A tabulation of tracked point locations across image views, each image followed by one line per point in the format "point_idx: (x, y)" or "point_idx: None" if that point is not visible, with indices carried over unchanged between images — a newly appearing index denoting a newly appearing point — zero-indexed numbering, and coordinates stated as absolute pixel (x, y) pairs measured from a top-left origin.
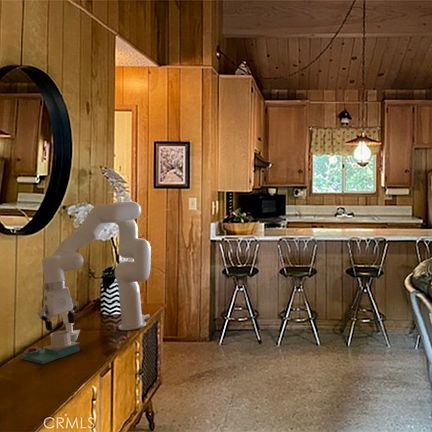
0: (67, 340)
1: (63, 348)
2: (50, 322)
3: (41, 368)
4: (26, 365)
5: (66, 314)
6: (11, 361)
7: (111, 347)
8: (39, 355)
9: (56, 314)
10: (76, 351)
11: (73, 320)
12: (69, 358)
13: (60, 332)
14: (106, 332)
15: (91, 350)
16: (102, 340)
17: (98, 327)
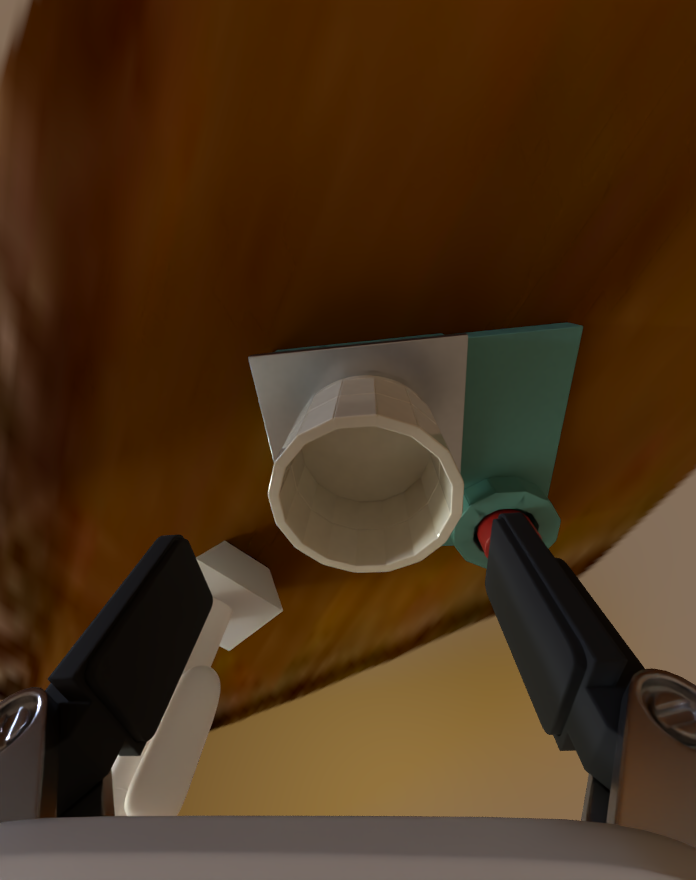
0: (338, 391)
1: (403, 340)
2: (596, 631)
3: (651, 219)
4: (612, 409)
5: (154, 766)
6: (573, 548)
7: (50, 159)
8: (499, 460)
9: (578, 858)
10: (294, 348)
11: (146, 562)
12: (399, 245)
13: (326, 547)
14: (38, 528)
15: (205, 268)
16: (84, 416)
17: (64, 620)
